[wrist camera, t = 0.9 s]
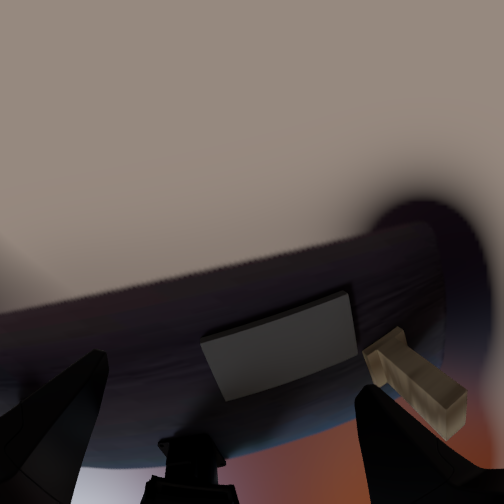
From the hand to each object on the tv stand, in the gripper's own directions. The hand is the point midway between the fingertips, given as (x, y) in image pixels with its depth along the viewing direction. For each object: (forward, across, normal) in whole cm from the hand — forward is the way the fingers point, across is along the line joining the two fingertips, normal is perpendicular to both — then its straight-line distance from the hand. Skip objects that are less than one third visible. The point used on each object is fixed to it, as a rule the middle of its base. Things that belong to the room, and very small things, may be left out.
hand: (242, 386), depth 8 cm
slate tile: (+14, -7, +10) cm, 19 cm away
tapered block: (+14, -20, +10) cm, 26 cm away
